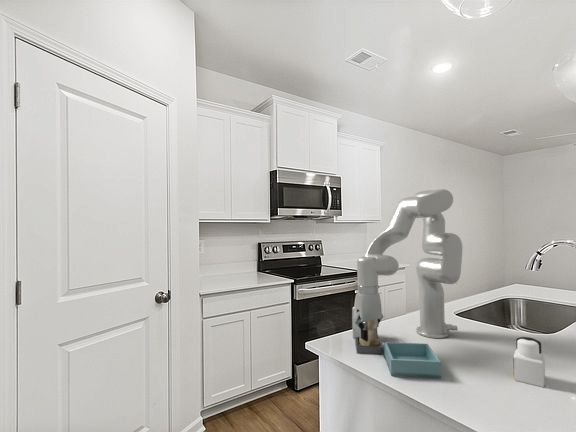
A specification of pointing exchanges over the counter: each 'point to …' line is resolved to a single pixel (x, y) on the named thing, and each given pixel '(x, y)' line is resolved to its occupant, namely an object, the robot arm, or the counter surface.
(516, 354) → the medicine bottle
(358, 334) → the supplement box
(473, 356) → the counter surface
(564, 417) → the counter surface
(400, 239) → the robot arm
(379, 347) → the collar
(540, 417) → the counter surface
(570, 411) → the counter surface
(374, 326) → the strut
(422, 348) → the bin
